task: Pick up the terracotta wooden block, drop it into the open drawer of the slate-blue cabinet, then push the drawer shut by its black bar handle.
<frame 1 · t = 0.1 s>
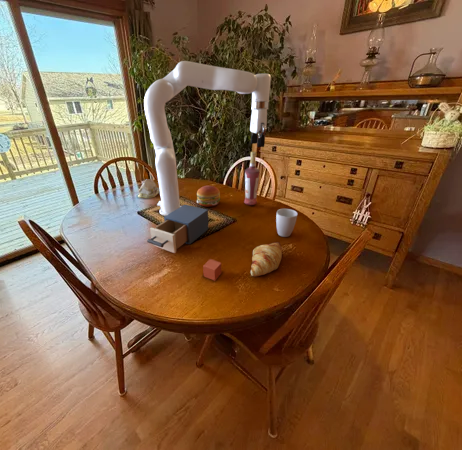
hand: (257, 145, 115), 31 cm above the table, tool pointing down, fingers open, 9 cm apart
liquor: (250, 204, 130), on the table
drawer: (169, 235, 94), point 5 cm above the table, slide at 8.0 cm
ceramic model: (149, 194, 150), on the table
burger: (208, 203, 133), on the table
croissant: (265, 263, 84), on the table
cup: (283, 234, 101), on the table
block: (212, 274, 80), on the table
cabinet: (188, 232, 105), on the table
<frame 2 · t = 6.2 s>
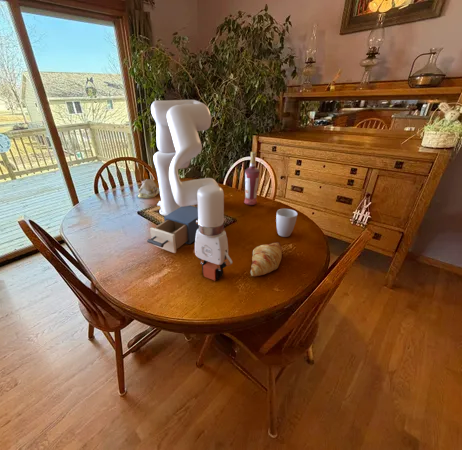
hand: (212, 274, 79), 0 cm above the table, tool pointing down, fingers closed on block, 4 cm apart
block: (212, 274, 80), on the table, touching gripper
everything else where it was.
when the fingers open (9 cm above the table, at t = 12.4 s): block drops 7 cm, resting on drawer.
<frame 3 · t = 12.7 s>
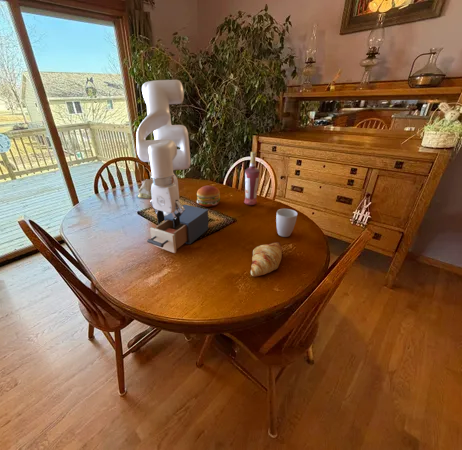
hand: (168, 223, 92), 10 cm above the table, tool pointing down, fingers open, 7 cm apart
drawer: (169, 235, 94), point 5 cm above the table, slide at 8.0 cm, touching block
block: (171, 240, 96), point 2 cm above the table, touching drawer
everything else where it was.
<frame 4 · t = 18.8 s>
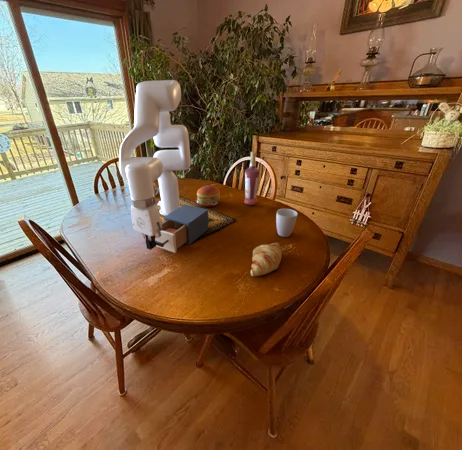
hand: (151, 247, 87), 5 cm above the table, tool pointing down, fingers closed
drawer: (170, 235, 94), point 5 cm above the table, slide at 7.8 cm, touching block, gripper
everything else where it was.
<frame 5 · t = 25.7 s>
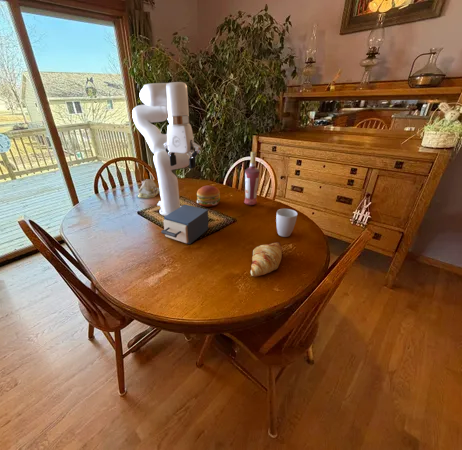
hand: (182, 166, 96), 28 cm above the table, tool pointing down, fingers open, 9 cm apart
drawer: (181, 227, 100), point 5 cm above the table, slide at 0.1 cm, touching block
block: (182, 232, 102), point 2 cm above the table, touching drawer
everything else where it was.
at the end: block inside the target area in the cabinet (3.6 cm from its centre), point 2.0 cm above the cabinet's base; drawer slide at 0.1 cm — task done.
